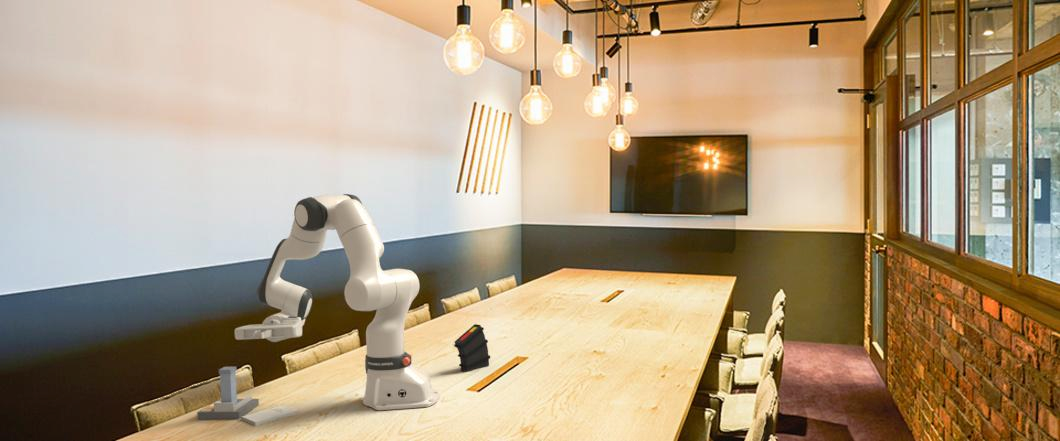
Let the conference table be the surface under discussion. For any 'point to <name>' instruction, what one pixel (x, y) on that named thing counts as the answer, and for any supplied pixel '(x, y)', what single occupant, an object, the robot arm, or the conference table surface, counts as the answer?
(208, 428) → the conference table surface
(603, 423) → the conference table surface
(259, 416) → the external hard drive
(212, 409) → the grey stepped square base
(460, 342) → the magazine
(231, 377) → the switch tab
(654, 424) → the conference table surface
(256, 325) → the robot arm
